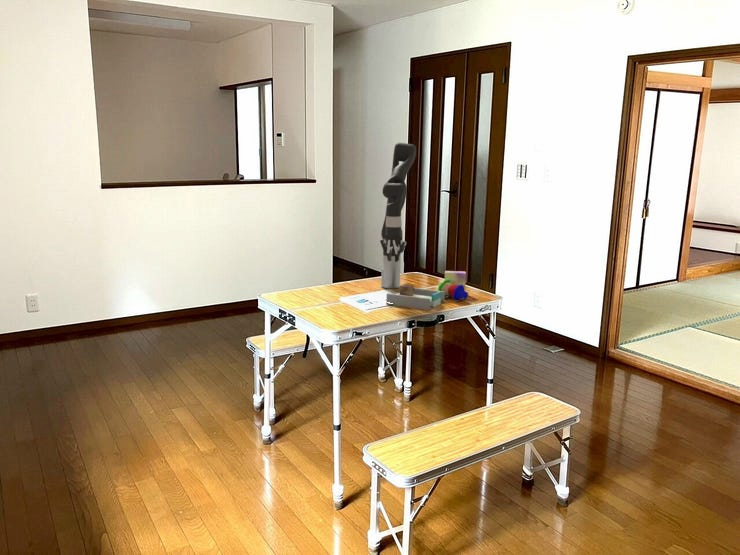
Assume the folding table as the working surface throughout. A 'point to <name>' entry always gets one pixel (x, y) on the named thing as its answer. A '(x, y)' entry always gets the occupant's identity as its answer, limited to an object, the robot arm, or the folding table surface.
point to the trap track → (418, 299)
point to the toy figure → (453, 291)
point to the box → (456, 277)
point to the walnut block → (407, 290)
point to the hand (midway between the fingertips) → (393, 261)
